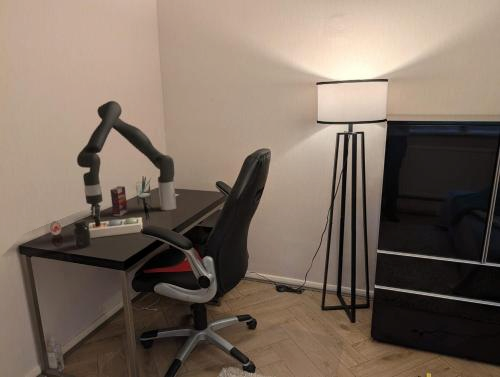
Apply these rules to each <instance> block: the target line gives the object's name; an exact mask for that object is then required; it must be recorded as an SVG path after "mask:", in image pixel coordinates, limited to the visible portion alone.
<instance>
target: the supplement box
mask: <svg viewBox="0 0 500 377" xmlns="http://www.w3.org/2000/svg"><path fill="white" fill-rule="evenodd" d="M110 199H111V205H112V214H113V217H114V216H115V217H117V216H119V217H120V216H122V215H124V214H126V213H128V211H129V210H128V203H127V195H126V187H125V186H119V185H118V186H116V187H112V189H110Z"/></svg>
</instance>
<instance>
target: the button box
mask: <svg viewBox="0 0 500 377" xmlns="http://www.w3.org/2000/svg"><path fill="white" fill-rule="evenodd" d="M136 218H137V223H136V224H127V225H126V221H125V220H126V219H127V218H124V219H119V220H120V221H121V225H119V226H110V227H109V221H110V220H106V221H100V224H104V226H105V227H101V228H93V226H94V225H95V222H89V224H88V225H87V226H88V227H89V231H90V237H91V239H94V238H101V237H110V236H111V237H112V236H118V235H127V234H134V233H141V232H140V231H141V229H142V230H143V217H136Z"/></svg>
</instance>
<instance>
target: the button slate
mask: <svg viewBox="0 0 500 377" xmlns="http://www.w3.org/2000/svg"><path fill="white" fill-rule="evenodd" d="M120 220H121V219H112V220H108V221H109V227H110V226H119V225H121V221H120Z"/></svg>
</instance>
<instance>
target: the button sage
mask: <svg viewBox="0 0 500 377" xmlns="http://www.w3.org/2000/svg"><path fill="white" fill-rule="evenodd" d="M137 218H138V217H128V218H125V219H126V220H125V221H126V225H127V224H136V223H137Z"/></svg>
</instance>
